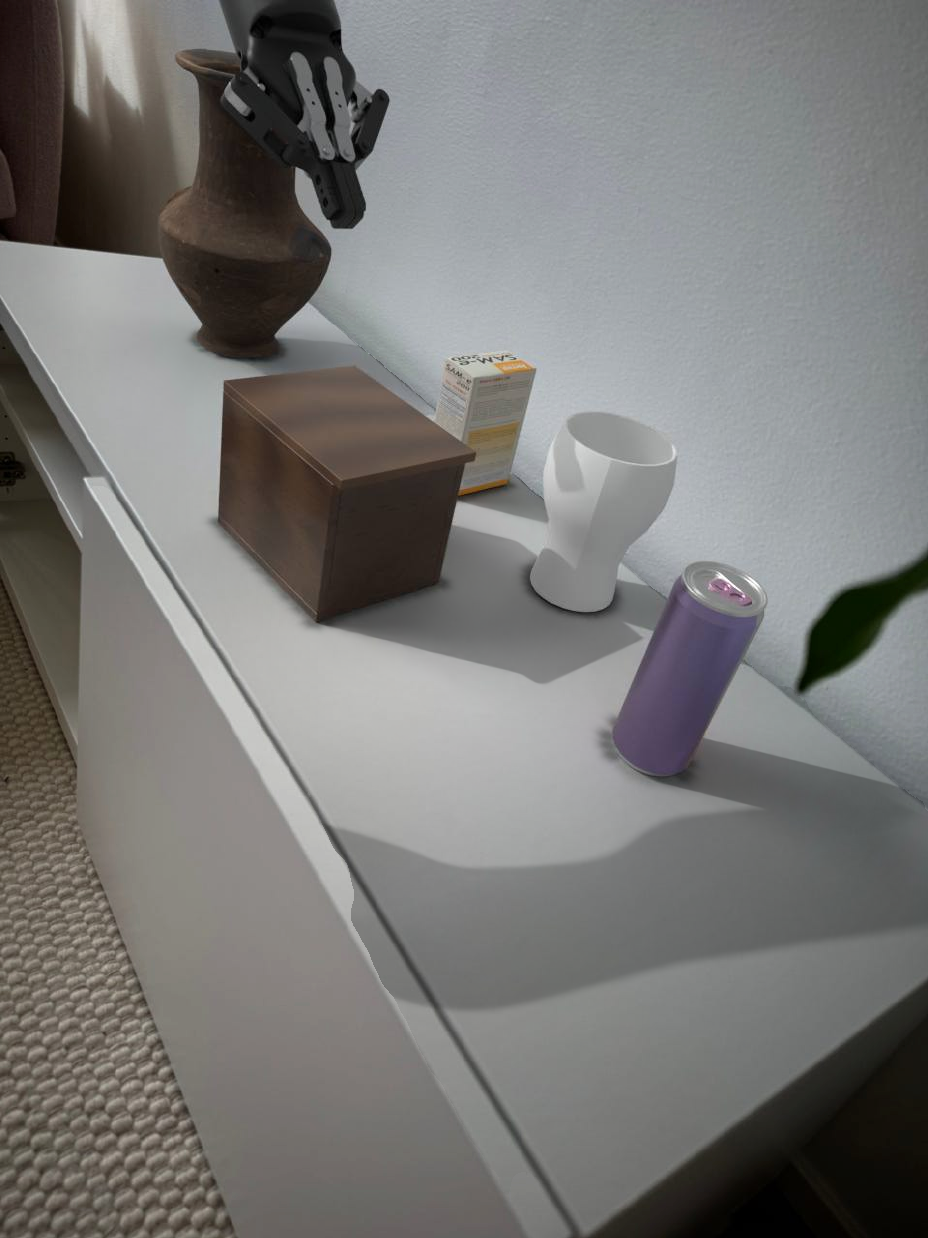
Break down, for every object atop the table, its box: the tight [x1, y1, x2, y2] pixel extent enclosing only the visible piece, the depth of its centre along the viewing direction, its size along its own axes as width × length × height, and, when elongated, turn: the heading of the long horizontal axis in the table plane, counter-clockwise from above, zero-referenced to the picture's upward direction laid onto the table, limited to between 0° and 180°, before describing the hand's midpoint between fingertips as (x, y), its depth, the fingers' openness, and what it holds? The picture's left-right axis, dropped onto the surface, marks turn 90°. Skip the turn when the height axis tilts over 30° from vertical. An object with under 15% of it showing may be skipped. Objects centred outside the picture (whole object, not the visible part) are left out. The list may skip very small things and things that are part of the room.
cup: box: [529, 410, 678, 613], centre depth 76 cm, size 11×11×15 cm
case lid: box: [222, 365, 476, 490], centre depth 69 cm, size 16×13×1 cm
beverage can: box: [611, 560, 769, 778], centre depth 60 cm, size 6×6×15 cm
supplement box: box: [433, 350, 537, 497], centre depth 88 cm, size 8×5×13 cm, turn 130°
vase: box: [157, 48, 333, 359], centre depth 100 cm, size 19×19×30 cm
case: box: [217, 390, 465, 623], centre depth 73 cm, size 16×13×12 cm
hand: (348, 222), depth 61 cm, fingers closed
